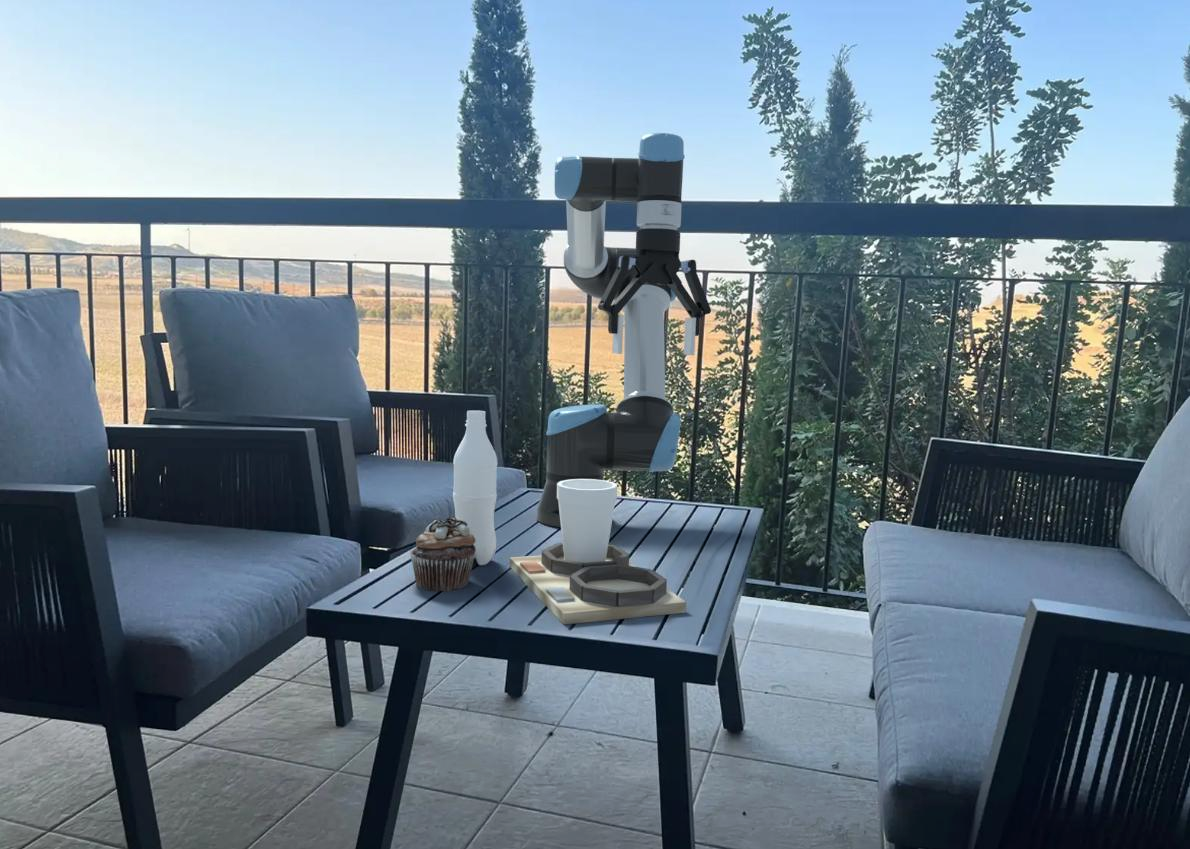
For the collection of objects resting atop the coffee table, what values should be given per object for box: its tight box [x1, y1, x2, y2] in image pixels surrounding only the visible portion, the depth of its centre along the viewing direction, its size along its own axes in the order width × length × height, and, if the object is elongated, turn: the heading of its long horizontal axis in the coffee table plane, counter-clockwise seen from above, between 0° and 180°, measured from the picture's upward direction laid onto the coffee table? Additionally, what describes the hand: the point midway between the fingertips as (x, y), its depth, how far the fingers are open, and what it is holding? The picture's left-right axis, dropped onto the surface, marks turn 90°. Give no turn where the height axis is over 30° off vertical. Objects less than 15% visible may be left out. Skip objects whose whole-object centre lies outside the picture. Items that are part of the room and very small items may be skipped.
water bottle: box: [452, 410, 499, 566], centre depth 139 cm, size 7×7×25 cm
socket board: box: [509, 542, 687, 625], centre depth 129 cm, size 28×18×4 cm, turn 20°
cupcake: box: [410, 515, 476, 592], centre depth 128 cm, size 10×10×10 cm
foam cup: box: [557, 479, 618, 563], centre depth 135 cm, size 10×9×13 cm
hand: (653, 354), depth 148 cm, fingers open, 13 cm apart
